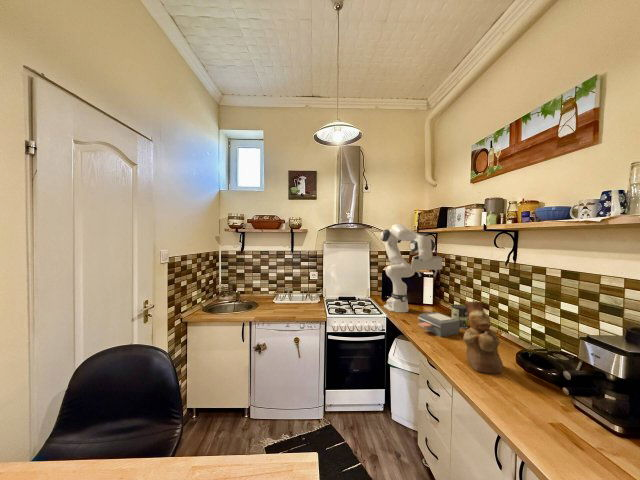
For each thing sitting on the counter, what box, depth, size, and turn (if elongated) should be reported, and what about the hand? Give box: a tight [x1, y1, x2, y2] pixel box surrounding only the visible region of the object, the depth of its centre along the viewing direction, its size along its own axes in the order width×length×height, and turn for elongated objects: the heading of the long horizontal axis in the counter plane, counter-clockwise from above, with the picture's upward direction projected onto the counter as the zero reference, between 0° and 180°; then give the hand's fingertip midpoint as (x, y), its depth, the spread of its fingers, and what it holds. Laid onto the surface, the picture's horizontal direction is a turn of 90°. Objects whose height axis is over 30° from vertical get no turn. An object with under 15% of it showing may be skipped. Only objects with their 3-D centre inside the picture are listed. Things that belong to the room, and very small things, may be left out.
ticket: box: [417, 322, 433, 329], centre depth 167 cm, size 6×20×1 cm, turn 110°
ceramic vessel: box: [463, 301, 504, 374], centre depth 124 cm, size 16×22×30 cm
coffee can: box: [450, 303, 469, 330], centre depth 176 cm, size 10×10×14 cm
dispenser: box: [417, 311, 461, 338], centre depth 168 cm, size 19×17×9 cm
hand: (427, 276), depth 175 cm, fingers open, 8 cm apart
